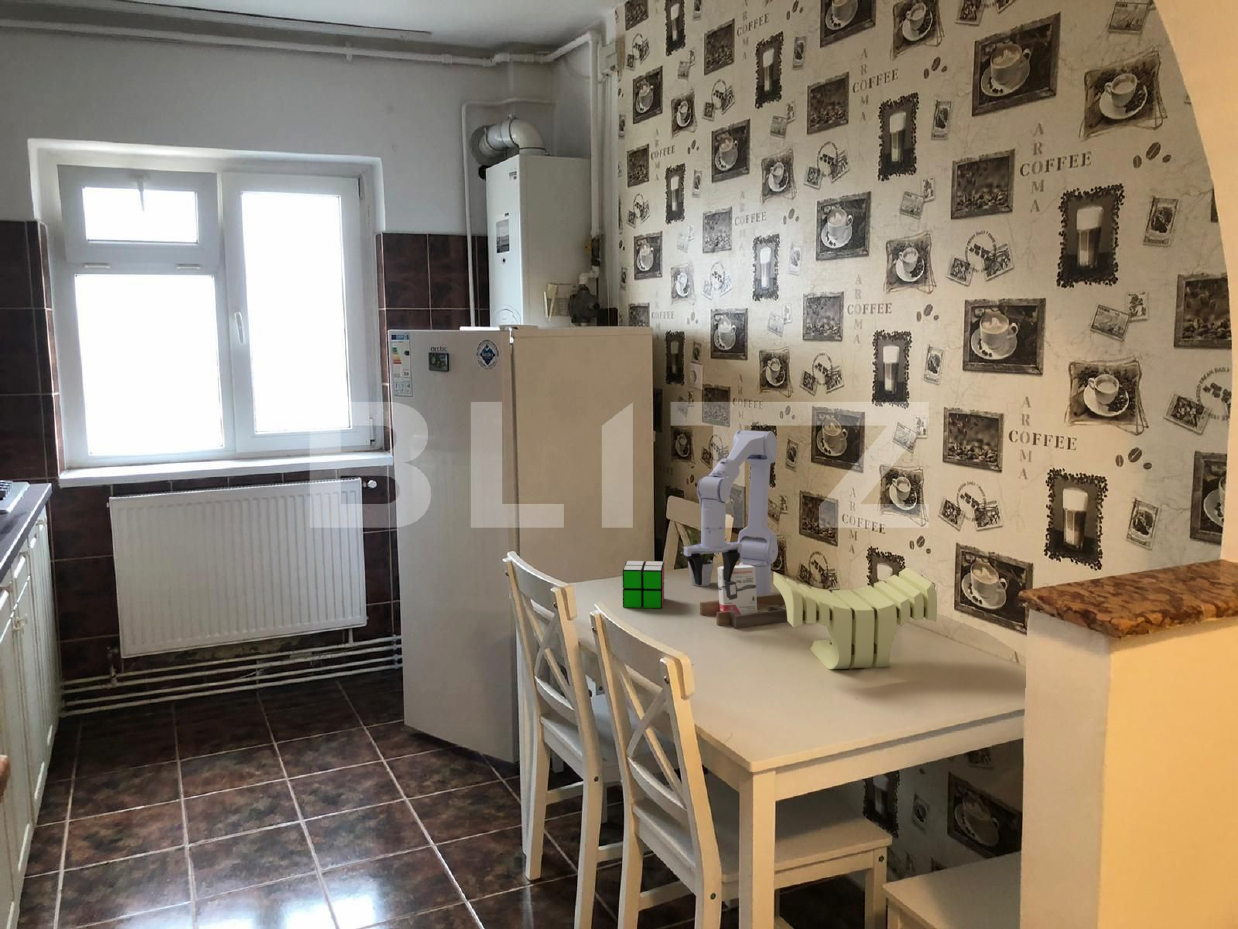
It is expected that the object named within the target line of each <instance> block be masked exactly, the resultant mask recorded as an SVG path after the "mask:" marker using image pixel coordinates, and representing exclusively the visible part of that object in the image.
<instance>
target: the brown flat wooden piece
mask: <svg viewBox="0 0 1238 929" xmlns="http://www.w3.org/2000/svg"><path fill="white" fill-rule="evenodd" d="M756 597H757V610H758V609H764V608H765V609H766V608H767V609H768V610H767V611H761V612H759V611H757V613H750V614H742V615H739V614H737V613H735V612H734V611H732V610H730V611H722V612H720V609H719V599H717V600H710V601H702V602H699V615H701V616H707V615H716V625H717V626H724V625H726V626H727V625H730V626H732V627H733V629H734V630H739V629H747V628H753V627H754V628H755V627H762V626H768V625H769V626H770V625H776V624H785V623H789V622H788V621H787V609H786V608H782V606H786V604H785V601H784V598H783V596H782V594H781V593H780V592H778V593H772V594H769V595H760V596H756Z"/></svg>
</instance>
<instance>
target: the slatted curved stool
mask: <svg viewBox="0 0 1238 929" xmlns="http://www.w3.org/2000/svg"><path fill="white" fill-rule="evenodd" d="M885 581H886V582H885ZM885 581H884V580H880V581H877V582H874V583H873V586H872V585H870V584H869V585H865V586H862V587H858V588H853V589H852V591H851V590H850V589H839V590H838V589H832V590H831V591H830V590H829V589H824V588H818V587H813V586H811V588H810V587H809V586H808V585H805V584H802V583H800V582H799V583H797V582H796V581H794V580H792V579H790V578H788V577H786V578H785V577H784V576H783V575H781V574H780V573H777V572H776V571H773V585H774V586H775V587H776V589H777V591H778V592H779V593H781V594H782V596H783V598H784V601H785V604H786V605H785V607H786V608H785V609H787V621H788V622H787V623H788V624H790V625H791V626H792V627H793V628H795V627H798V626H801V625H803V622H804V623H806V624H807V625H808V624H817V623H818V624H820V625H821V626H824V627H826V630H827V631H828V634H829V637H830V642H829V641H828V640H825V639H824V640H814V641H813V643H812V645H811V647H810V649H809V650H810V651H811V652H812V653H813V655H814V656H815V657H816V658H818V660H819V661H820V662H821V663H822V664H823V665H824V667H826V669H827V670H844V669H845V670H846V669H848V668H849V669H863V668H864V669H865V668H868V669H869V668H889V667H891V665H890V663H891V662H890V657H891V655H890V654H891V648H892V645H893V641H894V639H895V636H896V635H897V634H896V633H897V624H898V625H899V626H903V625H904V624H907V623H908V622H910V621H911V620H912V619H913V620H914V621H916V620H917V621H919V620H920V621H921V620H922V621H923V620H924V619H925V620H927V621H931V622H936V623H937V618H938V597H937V596H938V595H937V591H936V588H935V584H933V583H932V581H931V580H929V579H927V578H926V577H924V576H923V575H921V574H919V573H918V572H916V571H914V570H912V569H911V568H909V567H905V568H904V569H902V570H901V571H899V572H898V575H896V574H893V575H891V576H889V577H887V578H886V580H885Z"/></svg>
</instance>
